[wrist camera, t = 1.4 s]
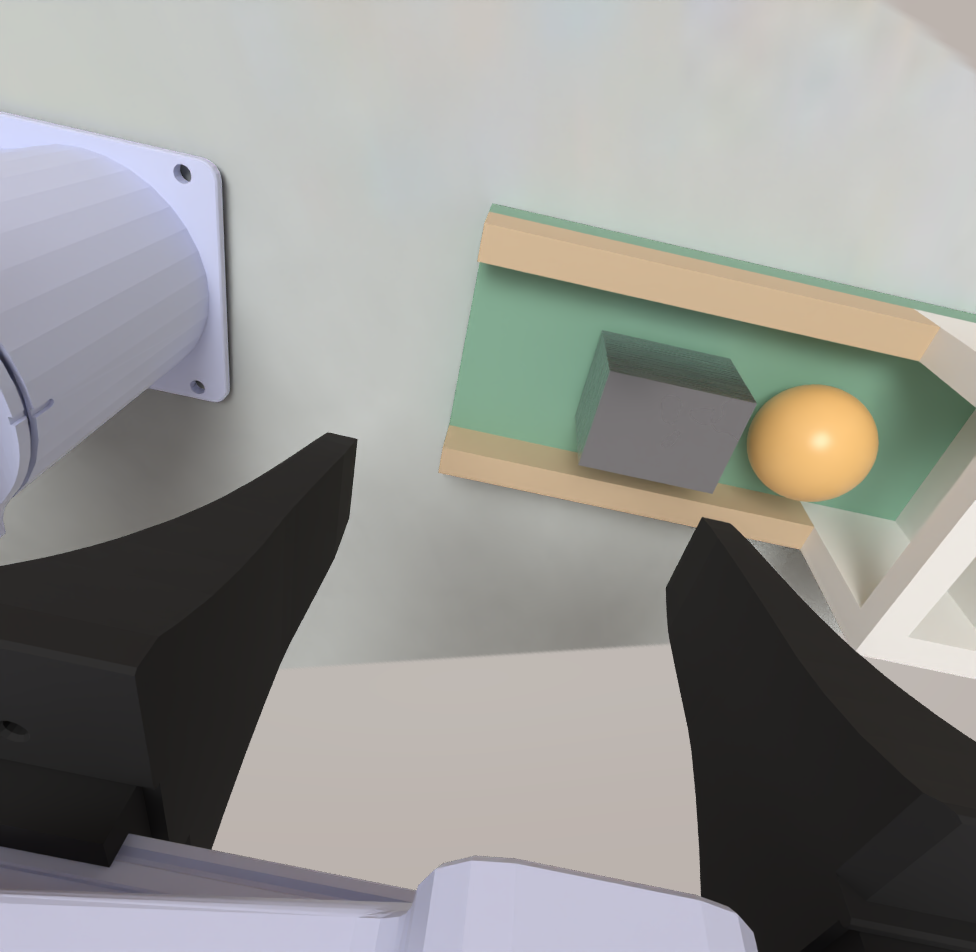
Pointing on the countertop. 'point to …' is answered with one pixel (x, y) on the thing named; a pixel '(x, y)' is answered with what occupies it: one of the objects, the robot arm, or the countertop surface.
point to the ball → (812, 443)
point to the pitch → (766, 372)
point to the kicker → (661, 412)
